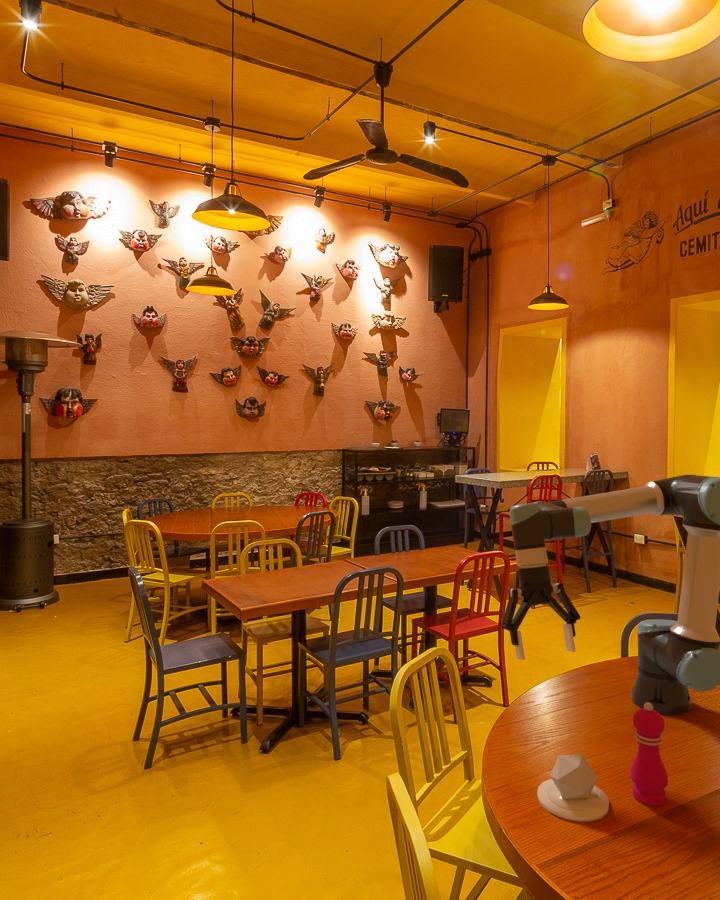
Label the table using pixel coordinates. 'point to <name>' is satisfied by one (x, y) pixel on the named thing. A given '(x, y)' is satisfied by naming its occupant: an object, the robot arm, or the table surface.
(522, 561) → the robot arm
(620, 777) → the table surface
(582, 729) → the table surface
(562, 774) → the die
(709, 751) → the table surface
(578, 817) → the plate
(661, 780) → the pepper mill
